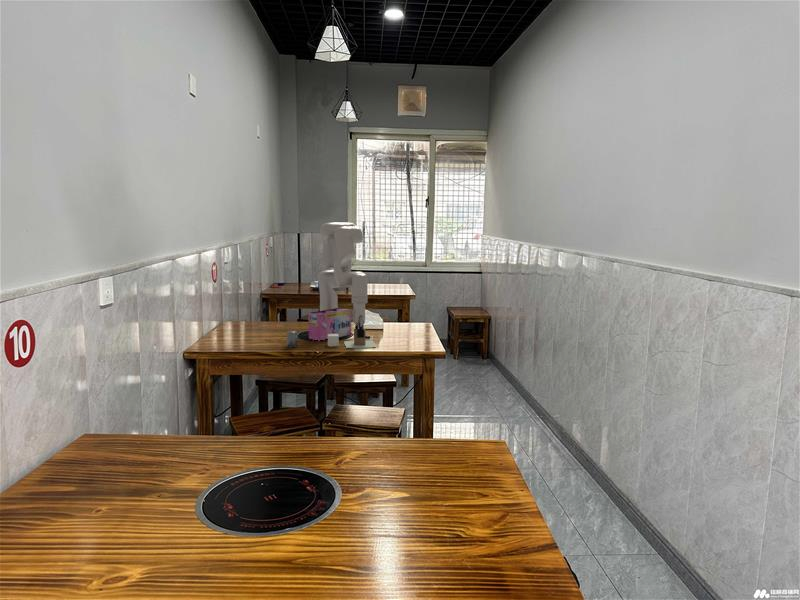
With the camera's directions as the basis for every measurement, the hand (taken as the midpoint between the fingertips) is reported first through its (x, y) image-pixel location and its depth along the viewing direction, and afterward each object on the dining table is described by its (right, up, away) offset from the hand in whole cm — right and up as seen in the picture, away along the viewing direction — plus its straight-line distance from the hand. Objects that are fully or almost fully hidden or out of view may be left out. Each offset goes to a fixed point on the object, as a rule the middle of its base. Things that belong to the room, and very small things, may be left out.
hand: (359, 335), depth 265 cm
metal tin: (-31, -5, -3) cm, 32 cm away
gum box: (-16, -2, +19) cm, 25 cm away
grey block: (-13, -5, 0) cm, 13 cm away
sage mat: (0, -5, 0) cm, 5 cm away
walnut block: (0, -4, +1) cm, 4 cm away
